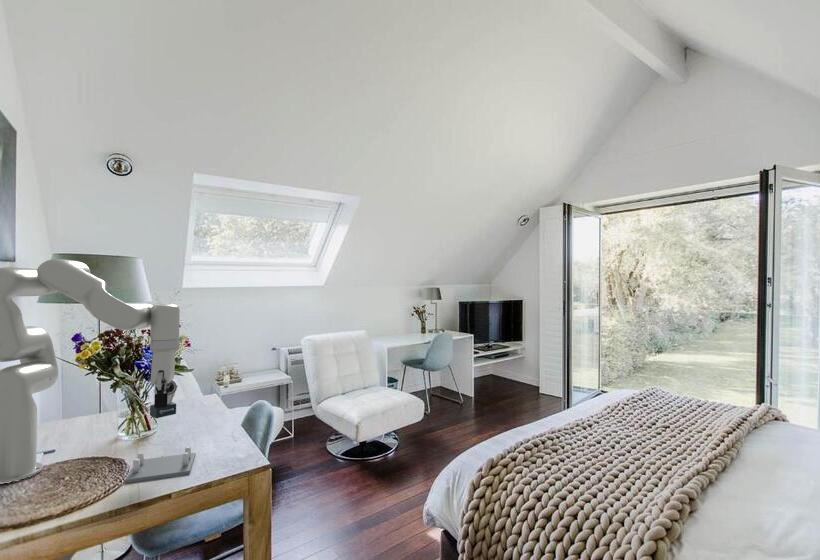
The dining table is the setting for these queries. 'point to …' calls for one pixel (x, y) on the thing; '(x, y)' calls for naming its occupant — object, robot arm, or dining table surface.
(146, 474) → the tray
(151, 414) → the watch
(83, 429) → the dining table surface
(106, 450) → the dining table surface
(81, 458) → the dining table surface
